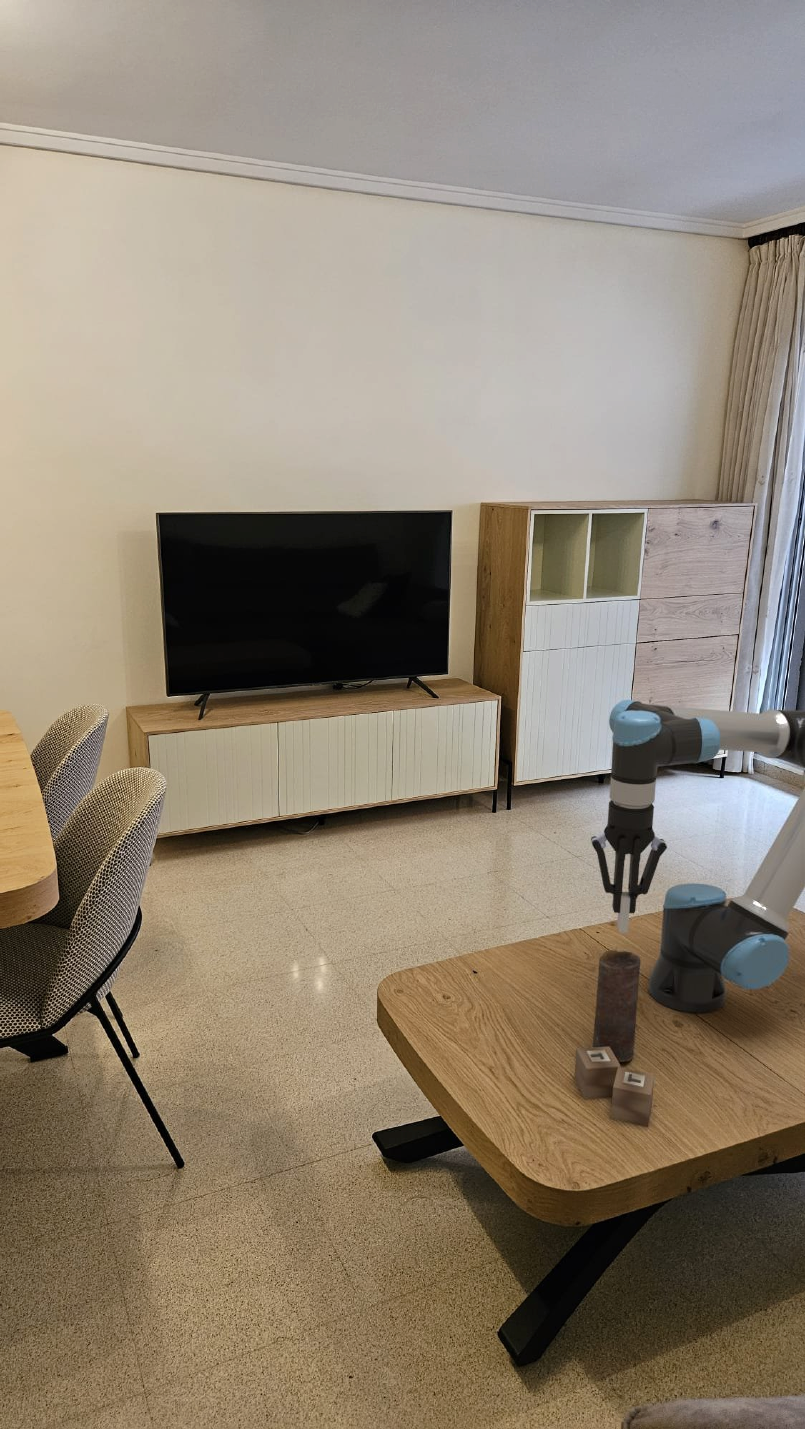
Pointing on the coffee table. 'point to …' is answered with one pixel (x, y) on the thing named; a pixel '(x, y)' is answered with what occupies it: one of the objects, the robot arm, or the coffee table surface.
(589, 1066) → the block two
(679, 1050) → the coffee table surface
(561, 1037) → the coffee table surface
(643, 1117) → the block seven
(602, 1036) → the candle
